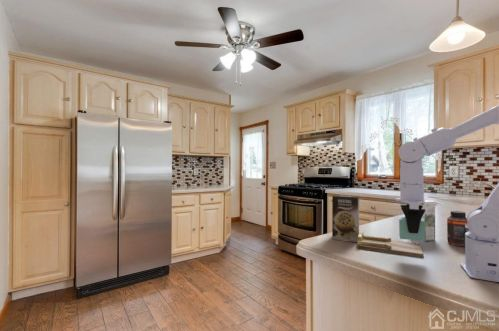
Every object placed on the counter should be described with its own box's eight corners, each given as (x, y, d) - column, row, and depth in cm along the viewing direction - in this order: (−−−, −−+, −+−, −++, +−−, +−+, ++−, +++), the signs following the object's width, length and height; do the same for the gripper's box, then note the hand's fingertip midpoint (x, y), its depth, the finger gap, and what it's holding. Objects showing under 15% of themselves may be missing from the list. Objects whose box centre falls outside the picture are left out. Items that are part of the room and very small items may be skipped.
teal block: (425, 241, 70) (424, 221, 70) (400, 238, 72) (399, 219, 73) (423, 237, 74) (422, 218, 74) (399, 235, 76) (399, 216, 77)
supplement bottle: (474, 247, 83) (473, 213, 83) (453, 246, 84) (453, 212, 84) (462, 242, 89) (462, 210, 89) (443, 241, 90) (443, 209, 90)
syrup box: (420, 236, 97) (419, 198, 97) (436, 240, 91) (435, 200, 92) (409, 237, 95) (409, 199, 95) (425, 242, 89) (424, 201, 90)
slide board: (423, 257, 74) (423, 245, 74) (357, 248, 83) (357, 237, 83) (419, 246, 85) (419, 236, 85) (360, 239, 93) (360, 229, 93)
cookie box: (331, 239, 93) (331, 195, 93) (334, 235, 99) (334, 194, 99) (358, 242, 89) (358, 197, 89) (359, 238, 95) (359, 195, 95)
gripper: (395, 182, 81) (395, 224, 81) (396, 185, 69) (397, 235, 69) (421, 182, 78) (422, 226, 78) (427, 185, 65) (428, 238, 65)
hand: (412, 230), depth 73 cm, fingers closed on teal block, 4 cm apart
